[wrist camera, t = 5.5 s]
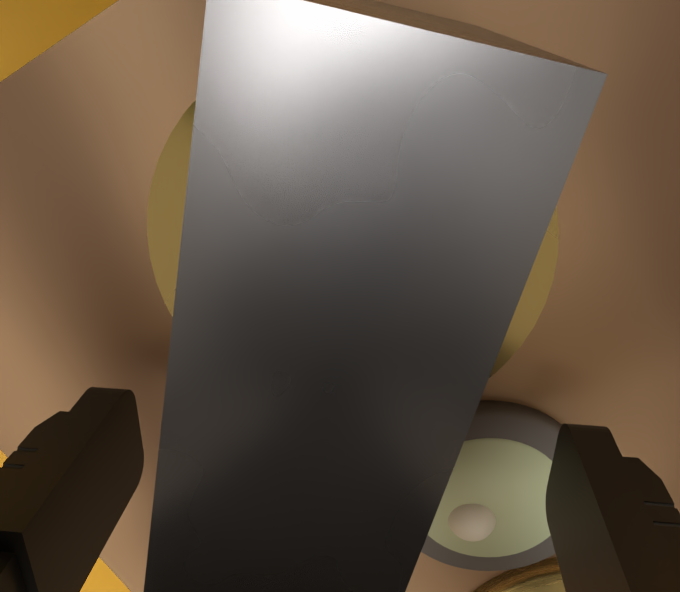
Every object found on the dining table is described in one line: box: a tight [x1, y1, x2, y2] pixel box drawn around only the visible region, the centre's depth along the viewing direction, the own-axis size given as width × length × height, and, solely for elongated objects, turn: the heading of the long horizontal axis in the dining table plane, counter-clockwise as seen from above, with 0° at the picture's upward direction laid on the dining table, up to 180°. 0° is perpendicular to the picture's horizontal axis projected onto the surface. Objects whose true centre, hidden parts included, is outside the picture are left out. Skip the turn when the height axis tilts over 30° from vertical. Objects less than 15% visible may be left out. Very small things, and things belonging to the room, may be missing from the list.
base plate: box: [0, 0, 680, 592], centre depth 16 cm, size 22×26×3 cm
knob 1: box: [144, 0, 608, 592], centre depth 9 cm, size 9×8×8 cm
